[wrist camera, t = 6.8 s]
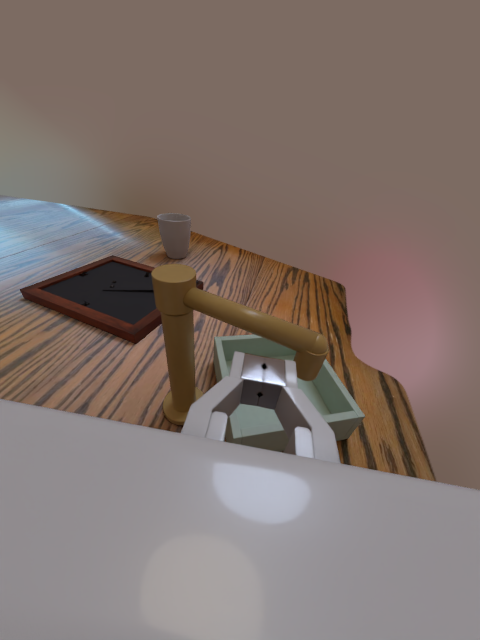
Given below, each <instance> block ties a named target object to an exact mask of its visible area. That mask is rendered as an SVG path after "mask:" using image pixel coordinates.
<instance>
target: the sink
mask: <svg viewBox="0 0 480 640" xmlns="http://www.w3.org/2000/svg"><path fill="white" fill-rule="evenodd" d="M235 351H237V352H242V353H248V354H254V355H259V356H265V357H271V358H277V359H283V360H290V361H293V360H294V357H295V354H296V351H294V350H292V349H289V348H287V347H284V346H282V345H279V344H277V343H274V342H272V341H270V340H267V339H265V338H262V337H260V336H257V335H240V336H224V337H214V367H215V373H216V379H217V383H218V382H219V381H221V380H222V379H223V378H224V377H225V376H228V377H229V373H230V369H231V364H232V360H233V355H234V352H235ZM244 356H245V355H244ZM297 382H298V389H301V390H302V391H303V392H304V394H305V395H306V396H307V398H308V399H309V400H310V401H311V403H312V404H313V405H314V407H315V408H316V409H317V411H318V412H319V413H320V414H321V416H322V417H323V418H324V420H325V421H326V422H327V423H328V425H329V426H330V427H331V429H332V430H333V431H334V433H335V438H336V441H338V440H344V439H348V438H349V437H350V435H351V434H352V433H353V431H354V430H355V429H356V427H357V426H358V425H359V424H360V422H361V421H362V420H363V418H364V417H365V415H364V414H363V413H362V411H361V410H360V408H359V407H358V405H357V404H356V402H355V401H354V399H353V398H352V397H351V395H350V394H349V392H348V391H347V389H346V388H345V386H344V385H343V383H342V382H341V381H340V379H339V378H338V376H337V375H336V373H335V372H334V370H333V369H332V367H331V366H330V365H329V363H328V362H327V360H326V359H325V360H324V362H323V365H322V367H321V369H320V371H319V373H318V376H317V378H316V379H314V380H312V381H304V380H301V379H299V378H298V377H297ZM226 442H229V443H234V444H240V445H245V446H250V447H255V448H261V449H266V450H271V451H277V452H281V451H284V450H285V448H286V446H287V444H288V442H289V438H288V436H287V434H286V432H285V431H284V429H283V427H282V425H281V423H280V421H279V419H278V417H277V415H276V413H275V411H274V410H273V409H268V408H263V407H258V406H252V405H246V404H240V405H239V406H238V407H237V408H236V409H235V411H234V412H233V413H232V414H231V415H230V416H229V418H228V419H227V427H226Z"/></svg>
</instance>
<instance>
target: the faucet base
mask: <svg viewBox="0 0 480 640" xmlns="http://www.w3.org/2000/svg"><path fill="white" fill-rule="evenodd" d="M161 319H162V326H163V334H164V341H165V349H166V356H167V364H168V372H169V379H170V387H171V391H170V392H169V393H168V394H167V395H166V397H165V399H164V401H163V411H164V415H165V417H166V418H167V419H168V420H169V421H170V422H171V423H173V424H176V425H184V423H185V420H186V417H187V414H188V412H189V409H190V406H191V405H192V404H193V403H194V402H196V401H197V400H198V399H199V398H200V397H201V396H203V395H204V394H203V393H202V391H201V390H200V389H198V388H196V387H195V358H194V324H193V310H192V311H190V312H188V313H186V314H182V315H168V314H164V313H162V312H161Z"/></svg>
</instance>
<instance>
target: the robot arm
mask: <svg viewBox="0 0 480 640" xmlns="http://www.w3.org/2000/svg"><path fill="white" fill-rule="evenodd" d="M244 355H245V356H244ZM240 404H246V405H252V406H258V407H263V408H268V409H273V410H274V411H275V413H276V415H277V417H278V419H279V421H280V423H281V425H282V427H283V429H284V431H285V432H286V434H287V436H288V438H289V442H288V444H287V446H286V448H285V450H284V452H283V453H282V452H277V451H271V450H266V449H261V448H255V447H250V446H245V445H240V444H234V443H229V442H225V435H226V427H227V419H228V418H229V416H230V415H231V414H232V413H233V412H234V411H235V409H236V408H237V407H238V406H239V405H240ZM0 640H480V490H477V489H471V488H466V487H461V486H455V485H449V484H445V483H439V482H434V481H429V480H424V479H419V478H413V477H408V476H403V475H398V474H392V473H387V472H382V471H377V470H371V469H366V468H361V467H356V466H350V465H345V464H341V463H340V458H339V453H338V448H337V443H336V438H335V433H334V431H333V430H332V429H331V427H330V426H329V425H328V423H327V422H326V421H325V420H324V418H323V417H322V416H321V414H320V413H319V412H318V411H317V409H316V408H315V407H314V405H313V404H312V403H311V401H310V400H309V399H308V398H307V396H306V395H305V394H304V392H303V391H302V390H301V389H298V382H297V371H296V362H295V361H290V360H283V359H277V358H271V357H265V356H259V355H254V354H248V353H242V352H237V351H235V352H234V355H233V360H232V364H231V369H230V373H229V377H228V376H225V377H224V378H223V379H222V380H221V381H219V382H218V383H217V384H216V385H215V386H213V387H212V388H211V389H210V390H209V391H207V392H206V393H205V394H204V395H203V396H201V397H200V398H199V399H198V400H197V401H196V402H194V403H193V404H192V405H191V406H190V409H189V412H188V414H187V417H186V420H185V423H184V426H183V428H182V431H181V433H176V432H171V431H166V430H161V429H155V428H150V427H145V426H140V425H134V424H129V423H124V422H119V421H113V420H108V419H103V418H98V417H93V416H87V415H82V414H77V413H72V412H66V411H61V410H56V409H51V408H45V407H40V406H35V405H30V404H24V403H19V402H14V401H9V400H3V399H0Z"/></svg>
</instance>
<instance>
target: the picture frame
mask: <svg viewBox="0 0 480 640" xmlns="http://www.w3.org/2000/svg"><path fill="white" fill-rule="evenodd" d="M153 269H155V268H154V267H150V266H147V265H144V264H140V263H137V262H133V261H130V260H126V259H123V258H120V257H116V256H110V257H107V258H104V259H102V260H99V261H96V262H93V263H91V264H88V265H85V266H83V267H80V268H77V269H74V270H72V271H69V272H66V273H63V274H61V275H58V276H55V277H53V278H50V279H47V280H44V281H42V282H39V283H36V284H34V285H31V286H28V287H25V288H23V289H20V291H21V293H22V295H23V297H24V298H25V299H28V300H30V301H33V302H35V303H38V304H40V305H42V306H45V307H47V308H50V309H52V310H55V311H57V312H60V313H62V314H65V315H67V316H69V317H72V318H74V319H77V320H79V321H82V322H84V323H87V324H89V325H92V326H94V327H96V328H99V329H101V330H104V331H106V332H109V333H111V334H114V335H116V336H119V337H121V338H123V339H126V340H128V341H131V342H133V343H138V342H139V341H140V340H141V339H142V338H144V337H145V336H146V335H147V334H149V333H150V332H151V331H152V330H154V329H155V328H156V327H157V326H158V325H160V324H161V323H162V319H161V312H160V311H159V310H158V309H157V308H156V304H155V297H154V290H153V283H152V276H151V272H152V271H153ZM196 288H198V289H201V290H203V282H202V281H198V280H196Z"/></svg>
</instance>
